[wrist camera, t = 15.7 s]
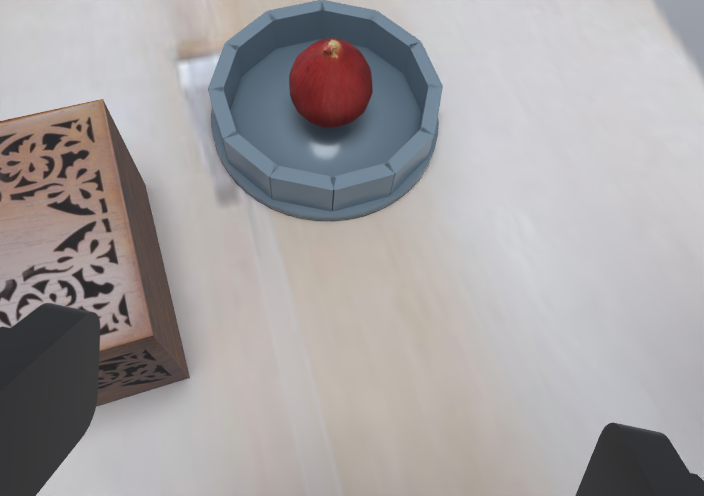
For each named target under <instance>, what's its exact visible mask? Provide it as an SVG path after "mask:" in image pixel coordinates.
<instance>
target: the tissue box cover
mask: <svg viewBox="0 0 704 496" xmlns="http://www.w3.org/2000/svg"><path fill="white" fill-rule="evenodd" d="M44 303H52V304H57V305H62V306H66V307H71V308H76V309H81V310H86V311H90V312H94V313H96V314H97V315H98V317H99V320H100V352H99V378H98V398H97V404H96V406H99V405H103V404H106V403H109V402H112V401H116V400H119V399H122V398H125V397H129V396H132V395H135V394H138V393H142V392H145V391H148V390H151V389H155V388H158V387H161V386H164V385H168V384H171V383H174V382H177V381H181V380H184V379H187V378H190V377H189V373H188V368H187V364H186V360H185V355H184V351H183V347H182V342H181V338H180V334H179V329H178V325H177V321H176V316H175V312H174V308H173V303H172V299H171V295H170V290H169V286H168V282H167V277H166V273H165V269H164V264H163V260H162V256H161V251H160V247H159V243H158V238H157V234H156V230H155V225H154V221H153V217H152V212H151V208H150V204H149V199H148V195H147V191H146V186H145V184H144V182H143V180H142V177H141V175H140V173H139V171H138V169H137V167H136V165H135V163H134V161H133V159H132V157H131V155H130V153H129V151H128V149H127V147H126V145H125V143H124V141H123V139H122V137H121V135H120V133H119V131H118V129H117V127H116V125H115V123H114V121H113V119H112V117H111V115H110V113H109V111H108V109H107V107H106V105H105V103H104V101H103V99H101V100H96V101H92V102H87V103H82V104H78V105H73V106H69V107H64V108H59V109H55V110H50V111H45V112H41V113H36V114H32V115H27V116H22V117H18V118H13V119H8V120H4V121H0V327H2V326H3V327H8V328H11V327H13V326H14V325H15V324H17V323H18V322H19V321H20V320H22V319H23V318H24V317H26V316H27V315H28V314H30V313H31V312H32V311H34V310H35V309H36V308H38V307H39V306H40V305H42V304H44Z"/></svg>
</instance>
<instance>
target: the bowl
mask: <svg viewBox="0 0 704 496" xmlns="http://www.w3.org/2000/svg"><path fill="white" fill-rule="evenodd" d="M326 38H338V39H341V40H344V41H347V42H349V43H351V44H352V45H353V46H355V47H356V48H357V49H358V50H359V51H360V52H361V53H362V54H363V55H364V57H365V59H366V61H367V63H368V64H369V66H370V69H371V73H372V85H373V93H372V96H371V98H370V101H369V103H368V106H367V108H366V110H365V111H364V113H363V114H362V115H360V116H359V117H358V118H357V119H355V120H354V121H353V122H351V123H349V124H346V125H343V126H340V127H337V128H323V127H320V126H317V125H314V124H311V123H310V122H309V121H308V120H306V119H305V118H304V117H303V116H301V115H300V114H299V113H298V112H297V110H296V108H295V106H294V104H293V103H292V100H291V97H290V89H289V74H290V71H291V68H292V66H293V64H294V61H295V59H296V57H297V56H298V55H299V54H300V53H301V52H302V51H304V50H305V49H306V48H307V47H309V46H310V45H311V44H313V43H315V42H317V41H319V40H321V39H326ZM442 88H443V87H442V84H441V82H440V80H439V77H438V75H437V73H436V71H435V69H434V67H433V65H432V63H431V61H430V59H429V57H428V55H427V53H426V51H425V49H424V47H423V45H422V43H421V42H420V40H418V39H417V38H415V37H414V36H412V35H411V34H410V33H408V32H407V31H405V30H404V29H402V28H401V27H400V26H398V25H397V24H395V23H394V22H392V21H391V20H390V19H388V18H387V17H385V16H384V15H382V14H381V13H380V12H378V11H377V12H376V10H371V9H366V8H361V7H356V6H351V5H346V4H341V3H336V2H331V1H326V0H322V1H321V0H318V1H313V2H308V3H303V4H298V5H294V6H289V7H284V8H279V9H274V10H269V11H268V12H267V11H266V12H265V13H264V14H262V15H261V16H260V17H258V18H257V19H256V20H254V21H253V22H252V23H250V24H249V25H248V26H247V27H245V28H244V29H243V30H241V31H240V32H239V33H237V34H236V35H235V36H233V37H232V38H231V39H229V40H228V41H227V42H226V43H225V44H224V47H223V50H222V53H221V55H220V58H219V61H218V63H217V66H216V69H215V72H214V74H213V77H212V80H211V82H210V85H209V88H208V92H209V96H210V100H211V104H212V113H211V122H212V131H213V136H214V141H215V145H216V149H217V151H218V154H219V156H220V159H221V161H222V163H223V165H224V166H225V168H226V170H227V172H228V173H229V174H230V176H231V177H232V178H233V179H234V181H235V182H236V183H237V184H238V185H239V186H240V187H241V188H242V189H243V190H244V191H245V192H246V193H248V194H249V195H250V196H252V197H253V198H254V199H256V200H257V201H259V202H260V203H262V204H264V205H266V206H268V207H269V208H271V209H274V210H276V211H279V212H281V213H284V214H286V215H290V216H294V217H298V218H302V219H309V220H316V221H338V220H348V219H353V218H357V217H362V216H365V215H368V214H371V213H374V212H377V211H379V210H381V209H383V208H385V207H387V206H389V205H391V204H392V203H394V202H395V201H397V200H398V199H400V198H401V197H402V196H403V195H405V194H406V193H407V192H408V191H409V190H410V189H411V188H412V187H413V186H414V185H415V184H416V182H417V181H418V180H419V179H420V178H421V176H422V174H423V173H424V171H425V170H426V168H427V166H428V164H429V161H430V159H431V157H432V154H433V151H434V148H435V144H436V140H437V136H438V124H439V123H438V112H439V106H440V100H441V94H442Z"/></svg>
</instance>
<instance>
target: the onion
mask: <svg viewBox="0 0 704 496" xmlns="http://www.w3.org/2000/svg"><path fill="white" fill-rule="evenodd" d="M289 89H290V97H291V100H292V103H293V104H294V106H295V108H296V110H297V112H298V113H299V114H300V115H301V116H303V117H304V118H305V119H306V120H308V121H309V122H310V123H311V124H314V125H317V126H320V127H323V128H337V127H340V126H343V125H346V124H349V123H351V122H353V121H354V120H355V119H357V118H358V117H359V116H360V115H362V114H363V113H364V111H365V110H366V108H367V106H368V103H369V101H370V98H371V96H372V93H373V85H372V73H371V69H370V66H369V64H368V63H367V61H366V59H365V57H364V55H363V54H362V53H361V52H360V51H359V50H358V49H357V48H356V47H355V46H353V45H352V44H351V43H349V42H347V41H344V40H341V39H338V38H326V39H321V40H319V41H317V42H315V43H313V44H311V45H310V46H309V47H307V48H306V49H305V50H304V51H302V52H301V53H300V54H299V55H298V56H297V57H296V59H295V61H294V64H293V66H292V68H291V71H290V74H289Z"/></svg>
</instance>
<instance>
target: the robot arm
mask: <svg viewBox="0 0 704 496" xmlns="http://www.w3.org/2000/svg"><path fill="white" fill-rule="evenodd" d="M99 352H100V320H99V317H98V315H97V314H96V313H94V312H90V311H86V310H81V309H76V308H71V307H66V306H62V305H57V304H52V303H44V304H42V305H40V306H39V307H38V308H36V309H35V310H34V311H32V312H31V313H30V314H28V315H27V316H26V317H24V318H23V319H22V320H20V321H19V322H18V323H17V324H15V325H14V326H13V327H11V328H8V327H3V326H2V327H0V496H36V495H37V493H38V492H39V491H40V490H41V488H42V487H43V486H44V485H45V483H46V482H47V481H48V480H49V478H50V477H51V476H52V475H53V473H54V472H55V471H56V470H57V468H58V467H59V466H60V464H61V463H62V462H63V461H64V459H65V458H66V457H67V456H68V454H69V453H70V452H71V451H72V449H73V448H74V447H75V446H76V444H77V443H78V442H79V441H80V439H81V438H82V437H83V435H84V434H85V432H86V431H87V429H88V427H89V425H90V423H91V420H92V418H93V415H94V412H95V408H96V404H97V398H98V378H99ZM576 496H704V481H703V480H702V479H701V478H700V477H699V476H698V475H697V474H692V473H690V472H689V471H688V469H687V468H686V466H685V464H684V463H683V461H682V460H681V458H680V456H679V455H678V453H677V452H676V450H675V448H674V447H673V445H672V444H671V442H670V440H669V439H668V438H667V436H665V435H664V434H663V433H660V432H655V431H650V430H646V429H641V428H636V427H631V426H627V425H622V424H617V423H609V424H608V425H606V427H605V428H604V429H603V431H602V432H601V435H600V437H599V439H598V442H597V444H596V447H595V449H594V452H593V454H592V456H591V459H590V461H589V464H588V466H587V469H586V471H585V474H584V476H583V479H582V481H581V484H580V486H579V489H578V491H577V493H576Z"/></svg>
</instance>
